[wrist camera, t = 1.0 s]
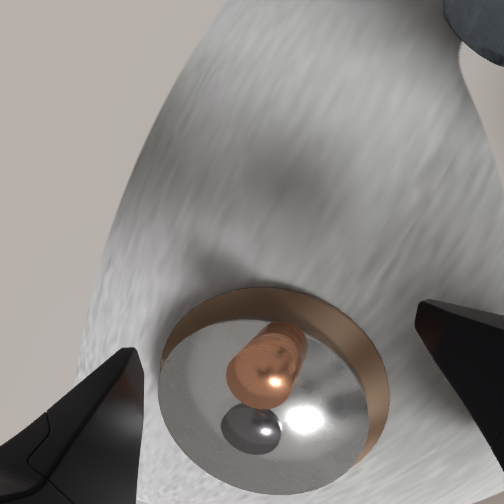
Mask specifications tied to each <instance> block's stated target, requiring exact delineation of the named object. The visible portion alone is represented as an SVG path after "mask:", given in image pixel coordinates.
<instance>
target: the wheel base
mask: <svg viewBox="0 0 504 504" xmlns="http://www.w3.org/2000/svg"><path fill="white" fill-rule="evenodd" d="M241 316H262V317H269V318H276V319H280V320H283V321H287V322H291V323H294V324H296V325H299V326H301V327H304V328H306V329H308V330H310V331H312V332H314V333H316V334H317V335H319V336H321V337H322V338H324V339H325V340H327V341H328V342H329V343H331V344H332V345H334V346H335V347H336V348H337V349H338V350H339V351H340V352H341V353H342V354H343V355H344V356H345V357H346V358H347V359H348V361H349V362H350V363H351V364H352V365H353V367H354V368H355V370H356V372H357V373H358V375H359V377H360V378H361V381H362V383H363V386H364V388H365V391H366V395H367V400H368V414H369V429H368V435H367V440H366V443H365V446H364V448H363V451H362V452H361V454H360V456H359V458H358V459H357V460H356V462H355V463H354V464H353V465H352V467H353V466H354V465H355V464H357V463H358V462H359V461H361V460H362V459H363V458H364V457H365V456H366V455H367V454H368V453H369V452H370V450H371V449H372V448H373V446H374V445H375V444H376V442H377V441H378V439H379V437H380V435H381V433H382V431H383V429H384V426H385V423H386V420H387V417H388V411H389V387H388V381H387V376H386V371H385V368H384V365H383V362H382V359H381V357H380V355H379V353H378V351H377V350H376V348H375V346H374V344H373V343H372V341H371V340H370V339H369V337H368V336H367V335H366V334H365V332H364V331H363V330H362V329H361V328H360V327H359V326H358V325H357V324H356V323H355V322H354V321H353V320H352V319H351V318H349V317H348V316H347V315H345V314H344V313H342V312H341V311H340V310H338V309H337V308H335V307H333V306H332V305H330V304H328V303H326V302H324V301H322V300H320V299H318V298H315V297H313V296H310V295H307V294H305V293H301V292H297V291H293V290H289V289H283V288H274V287H251V288H244V289H237V290H234V291H230V292H227V293H223V294H221V295H219V296H216V297H214V298H212V299H210V300H208V301H205V302H203V303H202V304H200V305H199V306H197V307H196V308H194V309H192V310H191V311H190V312H189V313H188V314H187V315H186V316H184V317H183V318H182V319H181V320H180V322H179V323H178V324H177V325H176V327H175V328H174V329H173V331H172V333H171V334H170V336H169V338H168V340H167V343H166V345H165V348H164V351H163V355H162V359H161V364H160V367H161V370H162V368H163V365H164V362H165V361H166V359H167V357H168V356H169V354H170V353H171V352H172V350H173V349H174V348H175V347H176V346H177V345H178V344H179V343H180V342H182V341H183V340H184V339H185V338H187V337H188V336H190V335H192V334H193V333H195V332H197V331H198V330H200V329H202V328H203V327H205V326H207V325H209V324H212V323H214V322H217V321H219V320H223V319H228V318H232V317H241ZM161 370H160V373H161Z"/></svg>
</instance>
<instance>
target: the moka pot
mask: <svg viewBox="0 0 504 504" xmlns="http://www.w3.org/2000/svg"><path fill="white" fill-rule="evenodd" d="M444 15H445V18H446V20H447V21H448V23H449V25H450V26H451V28H452V29H453V30H454V32H455V33H456V34H457V35H458V36H459V38H460V39H461V40H462V41H463V42H464V43H465V44H467V46H469V47H470V48H471V49H472V50H474V51H475V52H476V53H477V54H479V55H480V56H482V57H484V58H485V59H487V60H489V61H490V62H493V63H494V64H497V65H499V66H503V67H504V0H444Z"/></svg>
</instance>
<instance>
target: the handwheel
mask: <svg viewBox="0 0 504 504" xmlns="http://www.w3.org/2000/svg"><path fill="white" fill-rule="evenodd" d="M158 398H159V405H160V410H161V414H162V416H163V419H164V422H165V424H166V426H167V428H168V430H169V432H170V434H171V436H172V437H173V439H174V440H175V442H176V443H177V445H178V446H179V447H180V448H181V450H182V451H183V452H184V453H185V454H186V455H187V456H188V457H189V458H190V459H191V460H192V461H193V462H194V463H195V464H197V465H198V466H199V467H200V468H202V469H203V470H204V471H206V472H207V473H209V474H210V475H212V476H214V477H215V478H217V479H219V480H221V481H223V482H225V483H227V484H229V485H232V486H235V487H237V488H240V489H243V490H247V491H251V492H255V493H261V494H270V495H291V494H299V493H304V492H308V491H312V490H315V489H318V488H321V487H323V486H325V485H327V484H329V483H331V482H333V481H335V480H336V479H338V478H339V477H341V476H342V475H343V474H344V473H345V472H346V471H348V470H349V469H350V468H351V467H352V465H353V464H354V463H355V462H356V460H357V459H358V458H359V456H360V454H361V452H362V451H363V448H364V446H365V443H366V440H367V435H368V429H369V414H368V400H367V395H366V391H365V388H364V386H363V383H362V381H361V378H360V377H359V375H358V373H357V372H356V370H355V368H354V367H353V365H352V364H351V363H350V362H349V361H348V359H347V358H346V357H345V356H344V355H343V354H342V353H341V352H340V351H339V350H338V349H337V348H336V347H335V346H334V345H332V344H331V343H329V342H328V341H327V340H325V339H324V338H322V337H321V336H319V335H317V334H316V333H314V332H312V331H310V330H308V329H306V328H304V327H301V326H299V325H296V324H294V323H291V322H287V321H283V320H280V319H276V318H269V317H262V316H241V317H232V318H228V319H223V320H219V321H217V322H214V323H212V324H209V325H207V326H205V327H203V328H202V329H200V330H198V331H197V332H195V333H193V334H192V335H190V336H188V337H187V338H185V339H184V340H183V341H182V342H180V343H179V344H178V345H177V346H176V347H175V348H174V349H173V350H172V352H171V353H170V354H169V356H168V357H167V359H166V361H165V362H164V365H163V368H162V370H161V373H160V378H159V384H158Z"/></svg>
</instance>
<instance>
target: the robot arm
mask: <svg viewBox="0 0 504 504" xmlns="http://www.w3.org/2000/svg"><path fill="white" fill-rule="evenodd" d="M415 329H416V331H417V332H418V334H419V336H420V337H421V339H422V341H423V342H424V344H425V346H426V347H427V349H428V351H429V353H430V354H431V356H432V358H433V359H434V361H435V363H436V364H437V366H438V367H439V368H440V370H441V371H442V373H443V374H444V375H445V377H446V378H447V380H448V381H449V383H450V384H451V386H452V387H453V389H454V390H455V392H456V393H457V395H458V396H459V398H460V399H461V401H462V402H463V404H464V405H465V407H466V408H467V410H468V411H469V413H470V415H471V416H472V418H473V419H474V421H475V422H476V424H477V426H478V427H479V429H480V431H481V432H482V434H483V436H484V437H485V439H486V441H487V442H488V444H489V446H490V447H491V450H492V451H493V453H494V455H495V457H496V458H497V460H498V462H499V464H500V466H501V467H502V469H503V471H504V316H502V315H498V314H493V313H489V312H485V311H480V310H476V309H471V308H467V307H463V306H458V305H454V304H449V303H445V302H441V301H436V300H432V299H427V300H424V301H421V302H420V303H419V304H418V308H417V313H416V318H415ZM143 418H144V371H143V368H142V365H141V362H140V359H139V355H138V352H137V350H136V349H135V348H134V347H129V348H121V349H120V350H119V351H117V352H116V353H115V354H114V355H113V356H111V357H110V358H109V359H108V360H107V361H105V362H104V363H103V364H102V365H101V366H99V367H98V368H97V369H96V370H95V371H93V372H92V373H91V374H90V375H89V376H87V377H86V378H85V379H84V380H83V381H81V382H80V383H79V384H78V385H77V386H75V387H74V388H73V389H72V390H71V391H70V392H68V393H67V394H66V395H65V396H64V397H62V398H61V399H60V400H59V401H58V402H56V403H55V404H54V405H53V406H52V407H51V408H49V409H48V410H47V412H44V413H43V414H42V415H41V416H40V417H39V418H37V419H36V420H35V421H34V422H33V423H31V424H30V425H29V426H28V427H26V428H25V429H24V430H22V431H21V432H20V433H18V434H17V435H16V436H14V437H13V438H11V439H10V440H8V441H7V442H6V443H4V444H3V445H1V446H0V504H136V491H137V478H138V467H139V456H140V447H141V438H142V430H143Z"/></svg>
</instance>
